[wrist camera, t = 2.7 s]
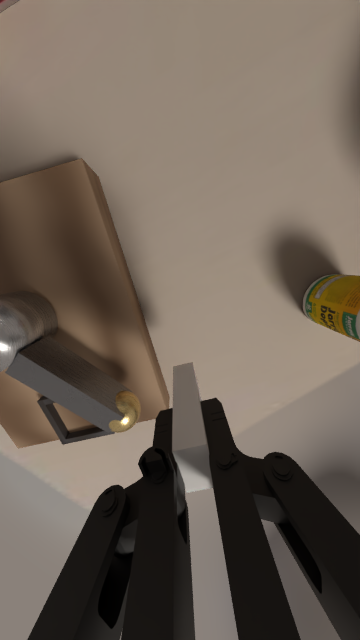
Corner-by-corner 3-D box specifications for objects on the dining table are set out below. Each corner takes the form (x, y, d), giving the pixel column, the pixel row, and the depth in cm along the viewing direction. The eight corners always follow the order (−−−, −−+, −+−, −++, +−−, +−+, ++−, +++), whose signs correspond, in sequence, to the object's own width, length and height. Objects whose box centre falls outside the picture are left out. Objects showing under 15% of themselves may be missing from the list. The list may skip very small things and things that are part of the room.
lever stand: (98, 176, 16) (75, 151, 12) (169, 396, 23) (168, 421, 20) (-88, 230, 17) (-160, 222, 13) (36, 426, 24) (12, 455, 20)
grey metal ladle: (-12, 322, 16) (-90, 347, 11) (14, 278, 15) (-59, 286, 10) (128, 410, 19) (112, 458, 15) (158, 379, 18) (152, 420, 14)
